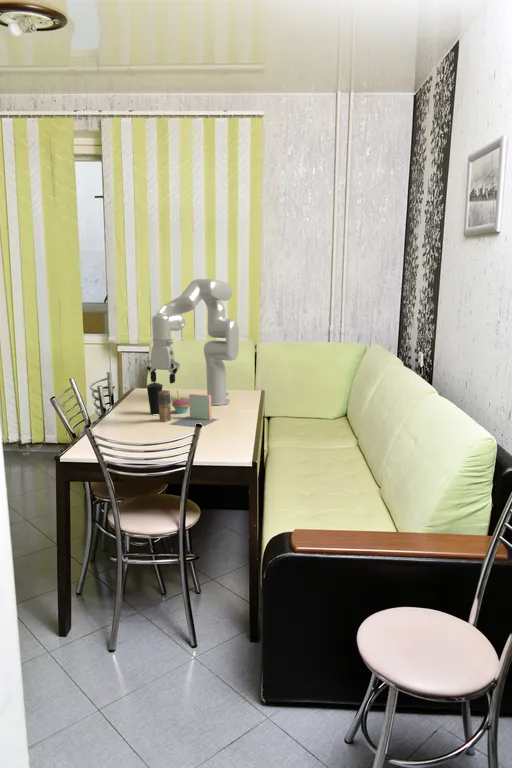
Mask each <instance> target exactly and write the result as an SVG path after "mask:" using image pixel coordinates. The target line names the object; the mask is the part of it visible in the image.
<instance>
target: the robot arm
mask: <svg viewBox="0 0 512 768" xmlns="http://www.w3.org/2000/svg"><path fill="white" fill-rule="evenodd" d="M232 295H233V289H232V287H231V285H230V284H229V283H228V282H224V281H221V280H217V279H213V278H211V279H210V278H197V279H193V280H192V281H191V282H190V283H189V285H187V287H186V288H185V289H184V290H183V292H182V293H181V295H180V296H178V297H176V298H175V299H173V300H171V301H168V302H167V303H165V304H163V306H161V307H160V309H159V310H158V311H157V312H156V314H155V315H153V316H152V318H151V322H152V323H151V324H152V325H151V327H152V328H151V329H152V346H151V352H150V359H149V360H148V361H146V362H144V364H145V366H146V370H147V371H148V372H149V374H150V383H154V382H155V383H156V382H157V372H156V370H161V371H163V370H164V371H168V372H169V373H170V374H169V384H174V383H176V382H175V381H176V374H177V372H178V371H179V368H180V367H181V364H180V363H179V362H178V361H176V360H175V353H174V352H175V351H174V349H173V346H171V345H173V341H172V340H171V331H172V332H173V331H174V332H176V331H177V332H178V331H181V330H183V328H184V327H185V325H186V319H185V317H184V316H183V315H182V314H185V313H188V312H191V311H193V310H194V309H195V308H196V307H197V306H198V304H199V303H200V301H201V300H202V301H203V302H204V303H205V305H206V308H207V325H206V326H207V328H206V329H207V334H208V336H209V337H211V338H215V339H216V338H217V339H225V340H215V339H214V340H209V341H206V343H205V344H204V346H203V354H204V355H203V356H204V359H205V367H206V368H205V369H206V370H205V371H206V395H211V406H223V405H228V404H229V403H230V399H229V398H227V397H228V396H229V395H230V393H229V392H227V384H226V383H227V381H226V379H227V378H226V366H225V363H224V362H223V361H226V362H227V361H235V360H236V359H237V357H238V355H239V345H240V343H239V340H240V339H239V338H240V328H239V324H238V322H237V321H236V320H235V319H233V318H226V309H225V306H224V303H223V302H225V301H229V300H230V299H231V297H232Z"/></svg>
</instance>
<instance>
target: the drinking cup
mask: <svg viewBox="0 0 512 768" xmlns="http://www.w3.org/2000/svg"><path fill="white" fill-rule="evenodd" d="M163 386H164V385H163V384H162V383H159V382H156V381H155V382H150V383H148V384H147V385H146V386H145V387H146V390H147V391H146V392H147V396H148V403H149V411H150V412H149V413H150V415H151V414H159V403H158V392H160V391H163Z"/></svg>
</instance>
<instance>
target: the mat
mask: <svg viewBox="0 0 512 768" xmlns="http://www.w3.org/2000/svg"><path fill="white" fill-rule="evenodd" d="M216 421H219V418H212V419H211V420H203V419H192V418H190V415H188V416H185V417H183V418H181V419H177V420H176V421H173V422H171V423H169V424H168V425H171V426H178V427H179V426H180V427H190V428H196V427H195V424H196V423H201V424H202V426H204V427H206V426H209V425H210V424H212V423H214V422H216Z"/></svg>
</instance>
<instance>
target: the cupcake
mask: <svg viewBox="0 0 512 768" xmlns="http://www.w3.org/2000/svg"><path fill="white" fill-rule="evenodd" d="M179 391H180V390H178V389H177V390H176V393H177V398H176V399H175V400H173V401H171V402H172V404H171V406H172V407H173V409H174V410H175V413H176V414H187V413H188V409H189V408H190V403H189V399H186V398H180V397H181V396H180V392H179Z"/></svg>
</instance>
